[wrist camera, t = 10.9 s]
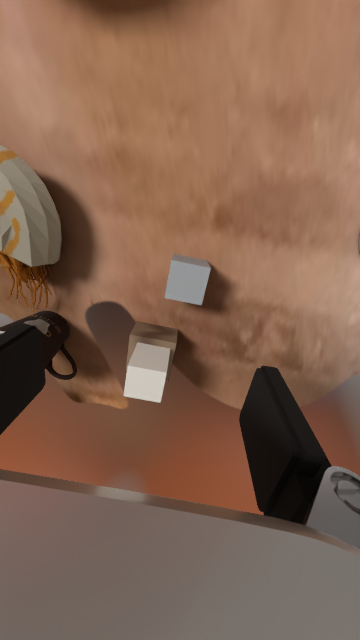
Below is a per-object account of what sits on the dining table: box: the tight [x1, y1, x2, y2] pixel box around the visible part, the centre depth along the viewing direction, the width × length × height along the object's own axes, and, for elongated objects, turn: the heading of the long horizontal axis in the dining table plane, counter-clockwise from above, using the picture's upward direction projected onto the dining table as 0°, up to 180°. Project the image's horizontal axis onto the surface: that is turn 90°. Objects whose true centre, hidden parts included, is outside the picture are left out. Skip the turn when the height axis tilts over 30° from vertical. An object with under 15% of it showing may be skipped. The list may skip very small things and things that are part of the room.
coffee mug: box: [0, 311, 77, 380], centre depth 35 cm, size 12×9×10 cm
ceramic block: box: [124, 342, 170, 402], centre depth 32 cm, size 5×5×6 cm
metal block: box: [126, 322, 178, 380], centre depth 37 cm, size 7×7×5 cm
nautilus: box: [0, 145, 62, 315], centre depth 30 cm, size 8×22×15 cm
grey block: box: [165, 254, 211, 305], centre depth 32 cm, size 5×5×6 cm
